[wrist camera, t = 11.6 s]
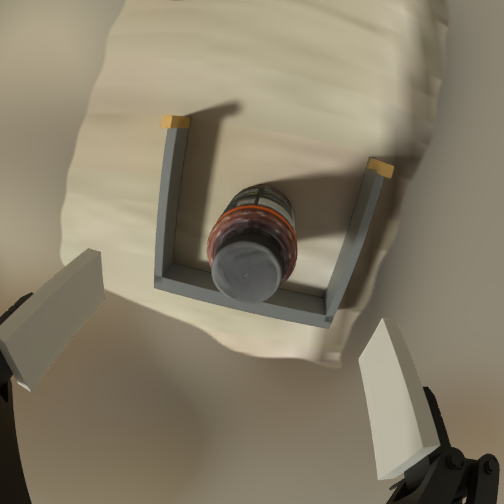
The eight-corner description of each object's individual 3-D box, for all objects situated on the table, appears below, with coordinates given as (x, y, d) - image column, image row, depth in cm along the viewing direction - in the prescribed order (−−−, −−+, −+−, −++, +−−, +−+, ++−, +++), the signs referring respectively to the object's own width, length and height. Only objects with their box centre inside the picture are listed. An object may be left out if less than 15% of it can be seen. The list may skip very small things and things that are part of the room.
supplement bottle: (258, 257, 28) (240, 334, 18) (215, 211, 26) (171, 267, 16) (307, 220, 26) (320, 284, 15) (264, 169, 24) (248, 201, 14)
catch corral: (182, 116, 23) (162, 114, 19) (377, 159, 23) (394, 166, 19) (164, 273, 30) (148, 295, 26) (325, 311, 29) (330, 338, 25)
